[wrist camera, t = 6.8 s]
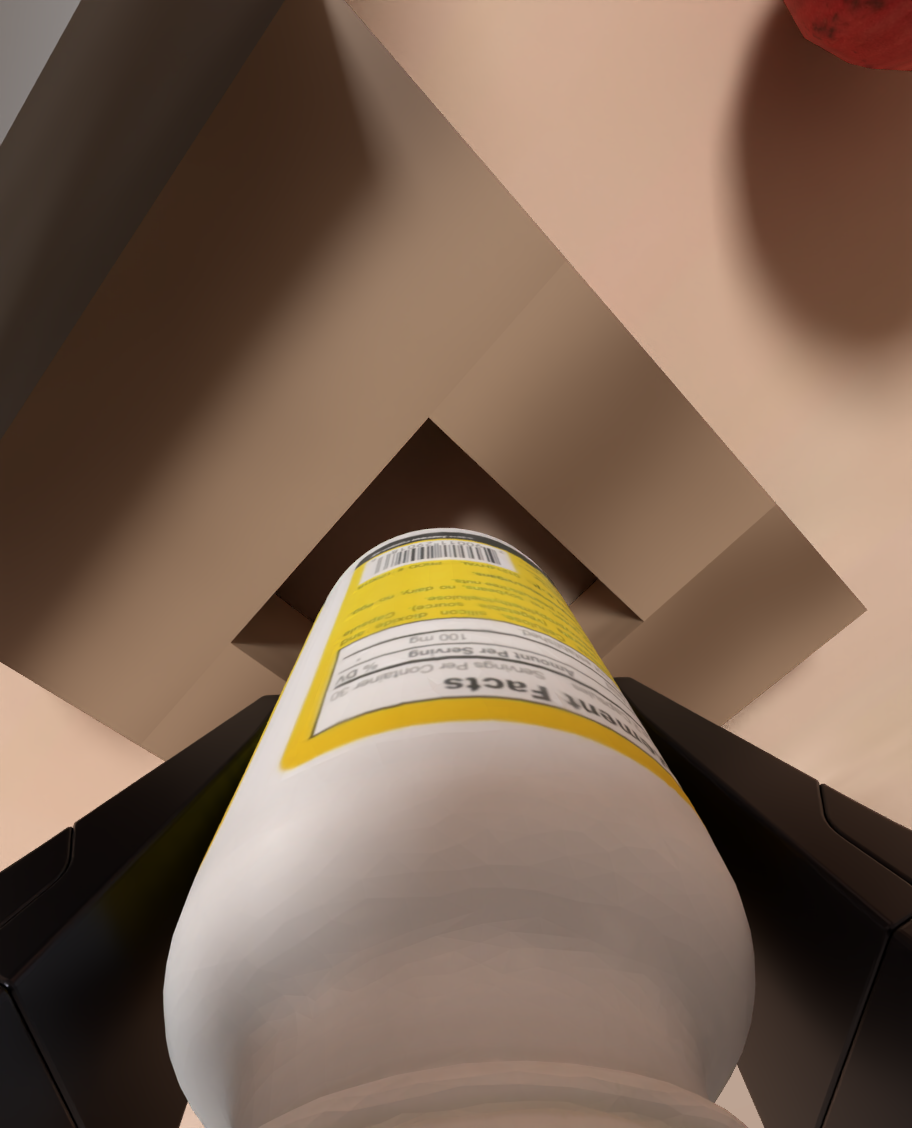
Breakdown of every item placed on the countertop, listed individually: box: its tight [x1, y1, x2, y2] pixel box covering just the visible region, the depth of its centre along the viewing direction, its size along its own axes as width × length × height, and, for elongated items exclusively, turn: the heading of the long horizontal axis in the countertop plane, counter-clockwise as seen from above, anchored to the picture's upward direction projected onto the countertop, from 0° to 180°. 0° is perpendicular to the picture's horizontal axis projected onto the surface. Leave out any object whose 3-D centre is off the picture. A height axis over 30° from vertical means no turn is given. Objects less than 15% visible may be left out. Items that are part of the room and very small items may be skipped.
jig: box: [0, 0, 867, 762], centre depth 11 cm, size 18×14×6 cm
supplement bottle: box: [163, 528, 755, 1128], centre depth 7 cm, size 5×5×10 cm
